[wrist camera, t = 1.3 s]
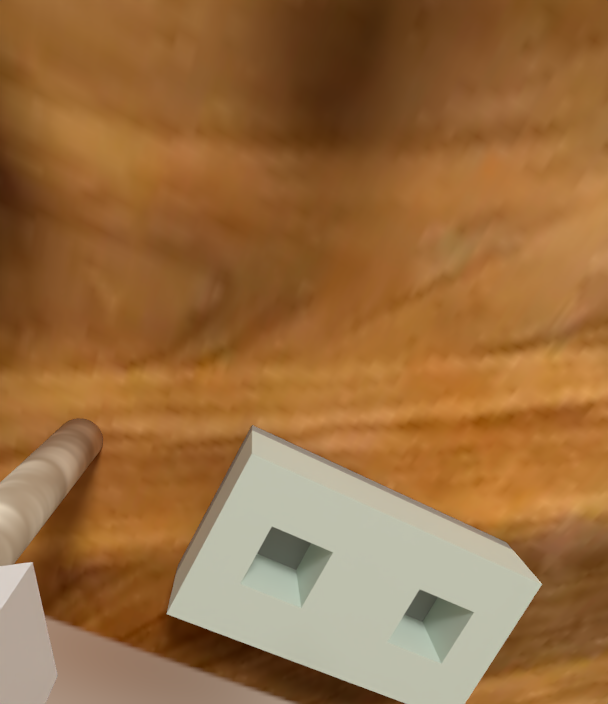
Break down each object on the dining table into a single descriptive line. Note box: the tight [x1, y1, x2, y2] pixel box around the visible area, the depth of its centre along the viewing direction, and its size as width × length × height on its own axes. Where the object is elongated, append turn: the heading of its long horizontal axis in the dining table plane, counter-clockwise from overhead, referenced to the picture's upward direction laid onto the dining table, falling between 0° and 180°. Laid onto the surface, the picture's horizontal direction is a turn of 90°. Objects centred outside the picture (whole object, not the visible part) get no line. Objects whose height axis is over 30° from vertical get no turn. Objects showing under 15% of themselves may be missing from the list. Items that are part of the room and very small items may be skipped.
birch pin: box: [0, 419, 103, 566], centre depth 27 cm, size 3×3×14 cm
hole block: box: [167, 425, 542, 704], centre depth 36 cm, size 22×12×5 cm, turn 63°
